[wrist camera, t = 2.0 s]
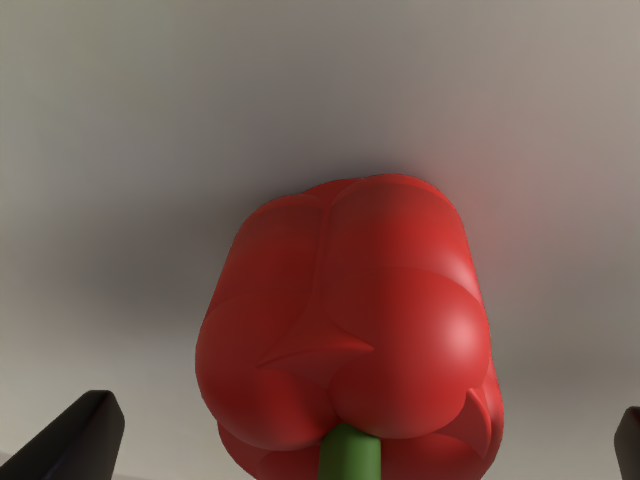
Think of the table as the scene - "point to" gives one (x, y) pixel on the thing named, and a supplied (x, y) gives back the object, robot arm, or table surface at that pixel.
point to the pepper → (352, 339)
